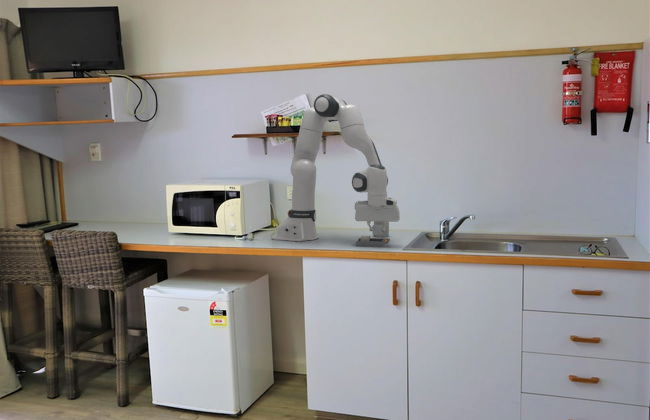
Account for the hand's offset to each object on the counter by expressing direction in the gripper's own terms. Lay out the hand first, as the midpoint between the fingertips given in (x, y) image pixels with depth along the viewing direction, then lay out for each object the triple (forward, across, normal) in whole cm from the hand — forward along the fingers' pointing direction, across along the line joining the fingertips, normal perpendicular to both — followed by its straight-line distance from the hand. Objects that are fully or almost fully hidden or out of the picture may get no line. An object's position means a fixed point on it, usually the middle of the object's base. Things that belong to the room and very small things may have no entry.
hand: (377, 231), depth 282 cm
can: (+7, -1, +26) cm, 27 cm away
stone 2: (+1, 0, 0) cm, 1 cm away
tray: (+7, -3, +11) cm, 13 cm away
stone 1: (+6, -6, 0) cm, 8 cm away
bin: (+7, -3, 0) cm, 8 cm away
